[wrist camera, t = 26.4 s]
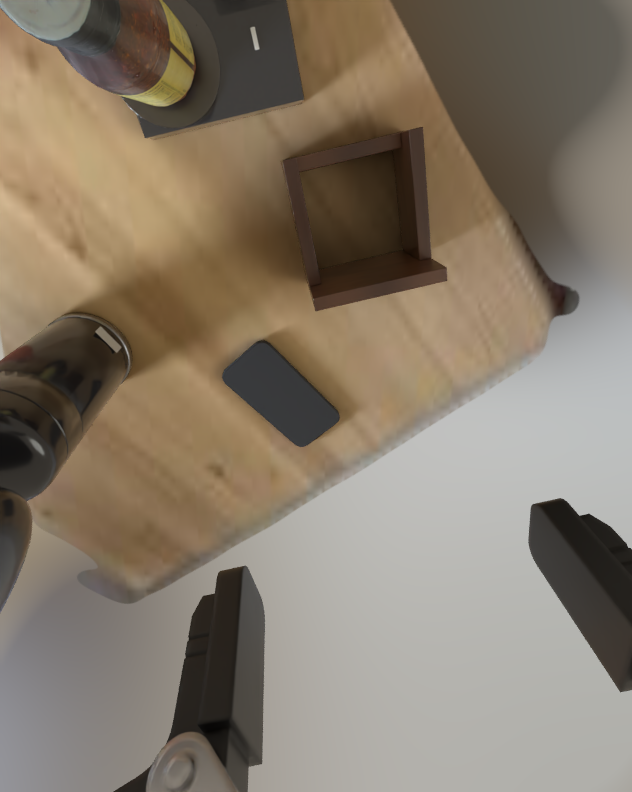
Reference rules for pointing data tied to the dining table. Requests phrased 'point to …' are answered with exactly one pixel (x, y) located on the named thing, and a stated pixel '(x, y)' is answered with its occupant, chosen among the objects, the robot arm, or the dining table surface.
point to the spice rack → (415, 258)
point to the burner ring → (204, 76)
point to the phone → (280, 394)
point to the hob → (246, 62)
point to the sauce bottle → (115, 44)
